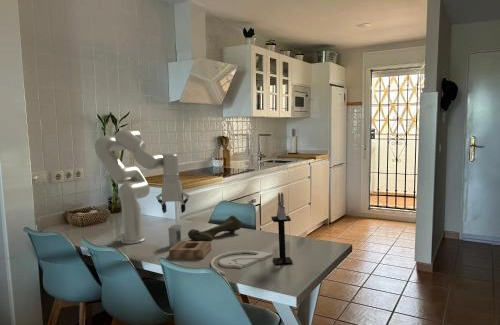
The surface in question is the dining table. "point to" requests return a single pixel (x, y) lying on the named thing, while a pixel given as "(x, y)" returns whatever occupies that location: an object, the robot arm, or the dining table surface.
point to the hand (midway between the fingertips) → (173, 212)
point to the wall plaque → (239, 259)
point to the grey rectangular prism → (174, 235)
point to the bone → (216, 229)
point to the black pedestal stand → (281, 233)
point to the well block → (190, 250)
